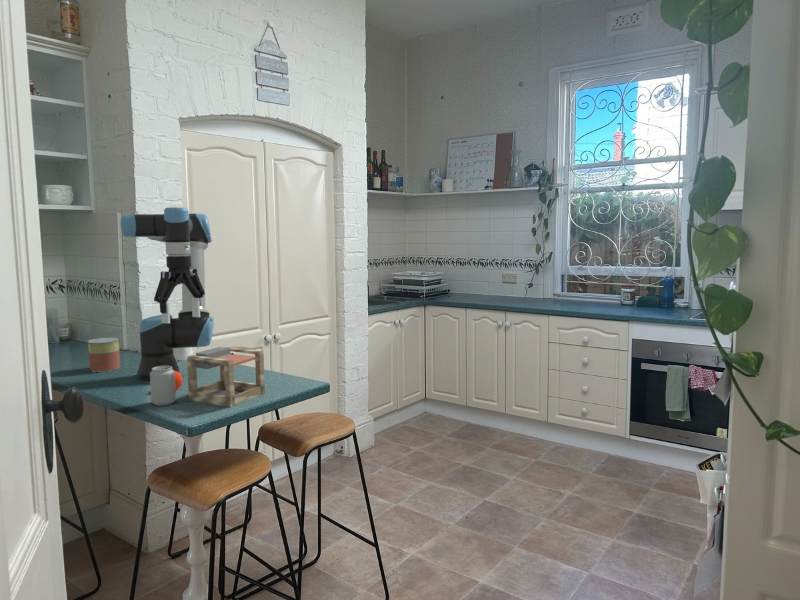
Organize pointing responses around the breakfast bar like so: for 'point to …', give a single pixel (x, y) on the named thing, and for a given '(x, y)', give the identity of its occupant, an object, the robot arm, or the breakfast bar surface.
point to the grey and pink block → (221, 357)
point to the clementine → (178, 380)
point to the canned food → (104, 354)
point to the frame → (226, 381)
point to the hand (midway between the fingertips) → (181, 320)
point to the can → (162, 385)
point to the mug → (183, 353)
